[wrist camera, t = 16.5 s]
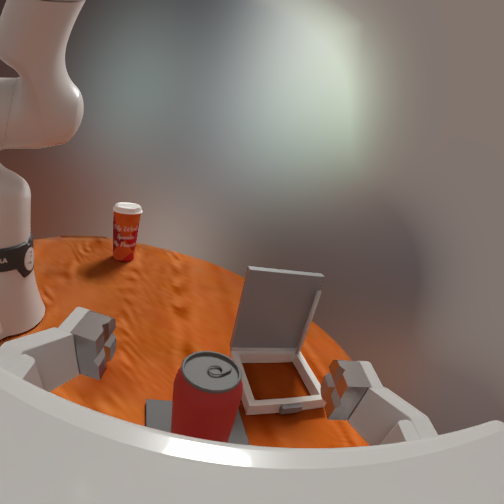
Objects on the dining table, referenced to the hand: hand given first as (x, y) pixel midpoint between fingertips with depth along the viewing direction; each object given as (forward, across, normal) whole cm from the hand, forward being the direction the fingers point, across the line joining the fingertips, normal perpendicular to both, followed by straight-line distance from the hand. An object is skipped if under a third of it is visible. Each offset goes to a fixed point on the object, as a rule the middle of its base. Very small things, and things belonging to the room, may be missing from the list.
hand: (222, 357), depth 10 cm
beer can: (+12, 0, +24) cm, 26 cm away
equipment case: (+24, -11, +24) cm, 36 cm away
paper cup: (+60, +26, +25) cm, 70 cm away
